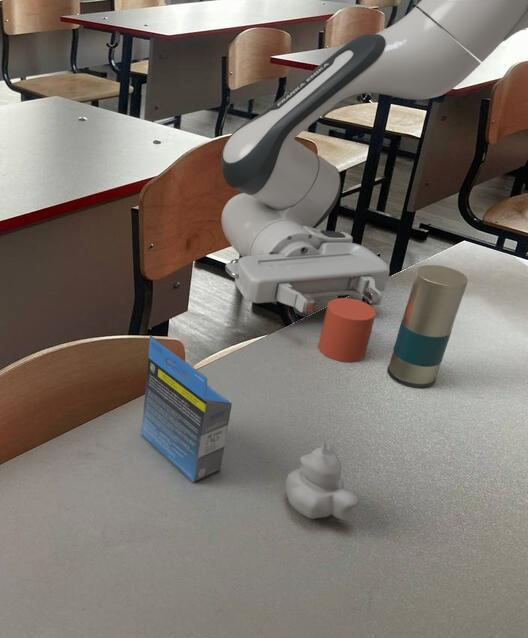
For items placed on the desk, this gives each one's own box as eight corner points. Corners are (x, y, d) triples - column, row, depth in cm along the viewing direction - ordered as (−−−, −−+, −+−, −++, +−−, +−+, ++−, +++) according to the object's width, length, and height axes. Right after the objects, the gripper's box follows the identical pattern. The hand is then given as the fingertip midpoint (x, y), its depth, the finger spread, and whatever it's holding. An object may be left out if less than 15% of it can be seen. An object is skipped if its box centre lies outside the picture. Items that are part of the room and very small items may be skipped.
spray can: (421, 363, 93) (452, 264, 87) (443, 387, 89) (478, 285, 82) (379, 363, 93) (407, 264, 86) (399, 388, 89) (431, 286, 82)
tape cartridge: (223, 471, 75) (241, 367, 69) (192, 484, 74) (208, 379, 67) (167, 423, 82) (179, 324, 76) (138, 434, 80) (147, 334, 74)
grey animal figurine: (300, 480, 74) (316, 415, 70) (363, 517, 70) (384, 450, 66) (269, 506, 71) (284, 439, 67) (333, 546, 67) (353, 477, 63)
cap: (353, 338, 98) (364, 297, 95) (372, 361, 94) (384, 319, 91) (311, 338, 98) (320, 298, 95) (328, 362, 93) (338, 320, 90)
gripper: (223, 241, 103) (270, 288, 91) (357, 231, 107) (420, 274, 95) (216, 283, 106) (262, 333, 94) (347, 271, 110) (406, 318, 98)
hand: (342, 303), depth 95 cm, fingers open, 8 cm apart
